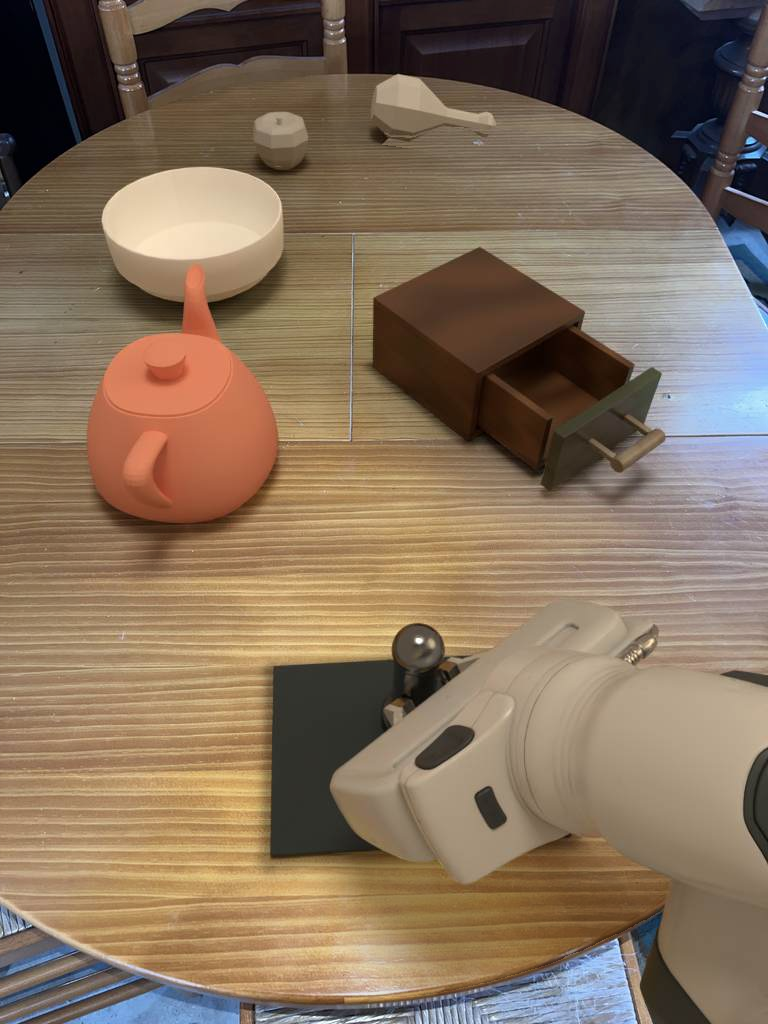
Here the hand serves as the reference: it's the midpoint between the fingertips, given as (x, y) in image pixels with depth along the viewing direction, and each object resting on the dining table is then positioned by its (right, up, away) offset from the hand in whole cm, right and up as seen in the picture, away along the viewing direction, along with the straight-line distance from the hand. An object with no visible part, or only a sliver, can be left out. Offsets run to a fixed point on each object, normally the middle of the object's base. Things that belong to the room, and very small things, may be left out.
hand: (421, 691), depth 55 cm
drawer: (+15, +20, +24) cm, 34 cm away
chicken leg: (+5, +68, +66) cm, 94 cm away
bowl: (-24, +40, +41) cm, 62 cm away
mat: (0, -5, +3) cm, 6 cm away
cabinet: (+7, +27, +30) cm, 41 cm away
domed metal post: (-1, -3, +4) cm, 5 cm away
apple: (-17, +61, +59) cm, 86 cm away
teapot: (-21, +17, +22) cm, 35 cm away
